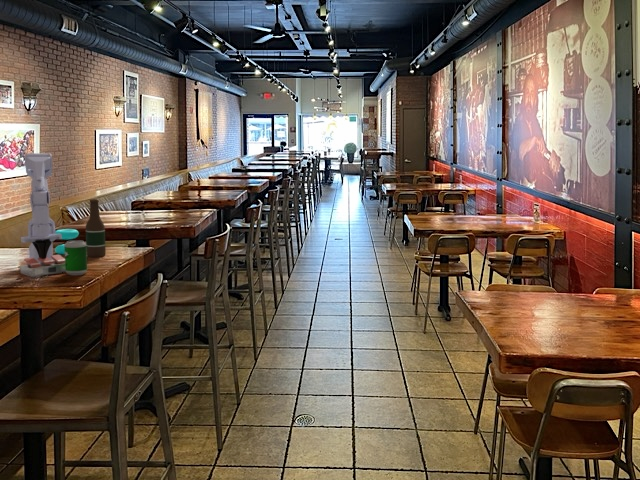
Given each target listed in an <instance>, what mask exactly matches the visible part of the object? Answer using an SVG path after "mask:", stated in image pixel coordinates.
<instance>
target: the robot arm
mask: <svg viewBox="0 0 640 480" xmlns="http://www.w3.org/2000/svg"><path fill="white" fill-rule="evenodd" d="M24 166H25V173H26V175H27V177H30V178H31V181H30V186H31V187H30V188H31V189H30V190H31V192H30V193H29V200H30V208H31V212H32V214H31V215H32V217H31V219H30V220H29V221H28V223H27V225H28V226H27V236H21V237H20V242H21V243H23V244H25V243H30V244H29V247H28V254H29V255H28V258H34V259H35V260H37V261H38V262H39V263H42V262H40V261H39V260H38V258H42V259H45V258H46V257H47V258H49V259H51V260H53V259H52V258H51V255H54V253H53V252H54V248H53V247H54V246H53V242H54V241H55V240H63V239H62V234H55V231H56V223H55V220H53V219H52V218H50V206H51V205H50V203H51V201H50V199H51V197H50V192H49V185H48V180H47V179H48V178H49V177H51V176H52V174H53V154H51V152H49V153H39V152H37V153H36V152H35V153H33V152H31V153H28V152H26V153H24ZM53 261H54V260H53ZM27 264H28V263H27V262H26V265H27Z"/></svg>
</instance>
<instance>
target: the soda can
mask: <svg viewBox="0 0 640 480" xmlns="http://www.w3.org/2000/svg"><path fill="white" fill-rule="evenodd" d="M64 247H65V254H64V259H65V270H66V272H65V273H67V274H68V276H82V275H85V274H86V273H87V271H88V259H87V258H88V256H87V252H86V241H85V242H84V240H80V239H79V240H77V239H76V240H73V239H72V240H68V241H66V242H65V243H64Z"/></svg>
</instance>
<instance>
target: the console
mask: <svg viewBox="0 0 640 480" xmlns="http://www.w3.org/2000/svg"><path fill="white" fill-rule="evenodd" d="M53 261H54V264H46V265H45V264H44V263H40V264H41V266H38V267H31V266H30V265H29V264H27V263H26V264H21V265H19V266H20V268H19V269H20V274H22V275H25V276H27V277H31V278H34V277H40V276H42V277H43V276H48V275H54V274H56V275H57V274H63V273H66V270H65V263H57V262H56V261H55V260H53ZM62 272H63V273H62Z"/></svg>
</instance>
